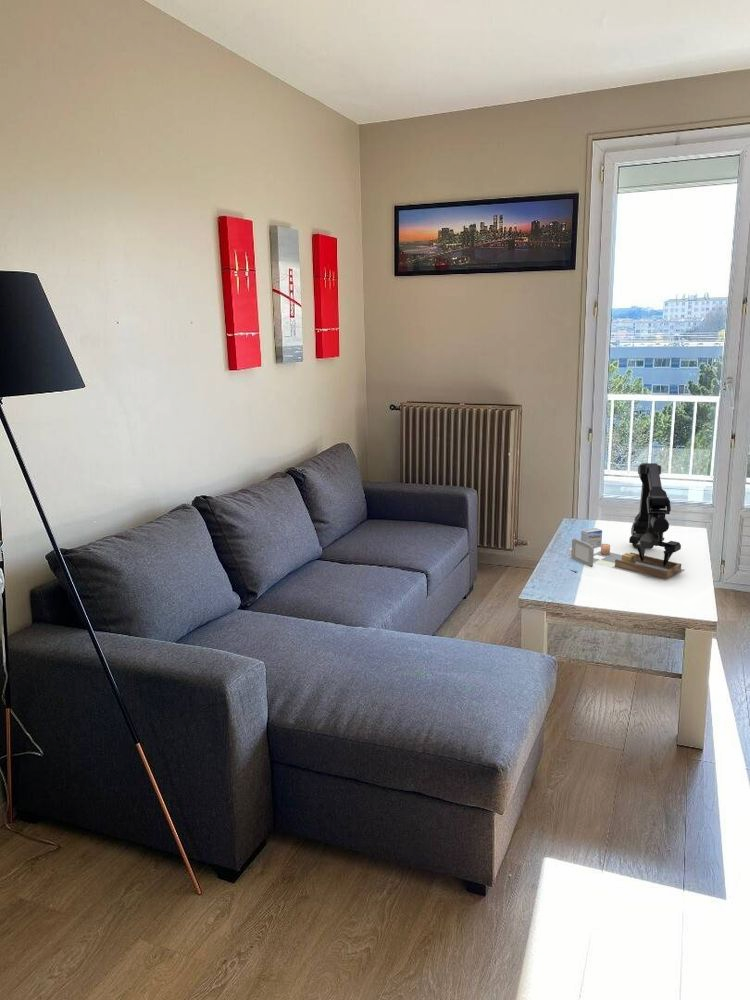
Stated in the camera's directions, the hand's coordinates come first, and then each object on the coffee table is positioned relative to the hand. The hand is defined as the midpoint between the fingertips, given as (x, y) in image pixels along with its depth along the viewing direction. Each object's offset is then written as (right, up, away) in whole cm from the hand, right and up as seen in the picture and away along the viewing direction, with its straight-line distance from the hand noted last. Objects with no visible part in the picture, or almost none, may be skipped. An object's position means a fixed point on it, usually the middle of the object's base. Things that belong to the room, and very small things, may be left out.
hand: (653, 563), depth 297 cm
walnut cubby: (-2, -2, +2) cm, 4 cm away
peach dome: (-12, +2, +21) cm, 25 cm away
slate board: (-6, -2, +8) cm, 10 cm away
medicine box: (-15, +3, +32) cm, 36 cm away
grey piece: (-28, -2, +11) cm, 30 cm away
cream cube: (-25, +1, +22) cm, 33 cm away
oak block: (-7, -1, +8) cm, 11 cm away
